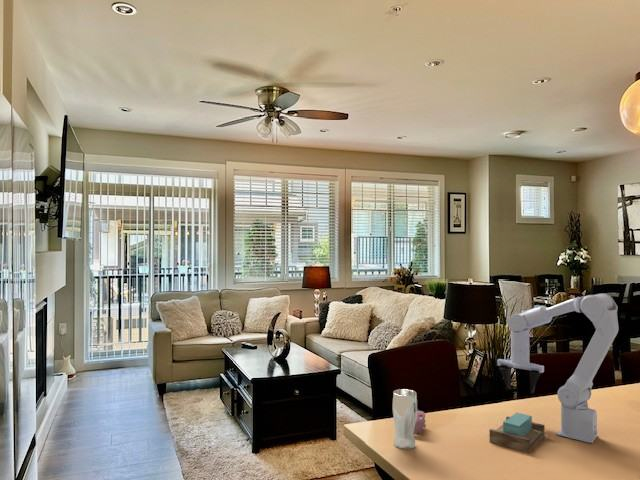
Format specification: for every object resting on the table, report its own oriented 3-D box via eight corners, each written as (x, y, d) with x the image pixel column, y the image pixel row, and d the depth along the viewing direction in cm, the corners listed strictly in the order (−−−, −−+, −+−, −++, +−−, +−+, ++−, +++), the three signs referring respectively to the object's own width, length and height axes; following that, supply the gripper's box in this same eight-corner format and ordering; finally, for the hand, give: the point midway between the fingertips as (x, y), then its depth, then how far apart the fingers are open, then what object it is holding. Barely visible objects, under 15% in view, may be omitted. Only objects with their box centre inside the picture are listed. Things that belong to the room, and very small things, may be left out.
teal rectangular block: (531, 429, 142) (531, 416, 142) (518, 440, 134) (518, 426, 134) (516, 425, 145) (516, 412, 145) (503, 435, 137) (503, 422, 137)
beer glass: (402, 451, 131) (402, 397, 131) (387, 442, 137) (387, 390, 137) (422, 447, 134) (422, 394, 134) (406, 438, 140) (407, 387, 140)
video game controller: (418, 442, 141) (429, 422, 140) (404, 434, 142) (415, 414, 141) (418, 429, 151) (428, 410, 150) (405, 422, 151) (415, 403, 151)
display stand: (544, 436, 142) (544, 425, 142) (528, 452, 131) (528, 440, 131) (507, 427, 149) (507, 416, 149) (489, 441, 138) (489, 429, 138)
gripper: (493, 348, 159) (493, 388, 159) (539, 354, 149) (539, 397, 149) (501, 345, 164) (501, 384, 164) (545, 351, 155) (546, 392, 154)
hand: (520, 390), depth 157 cm, fingers open, 7 cm apart
